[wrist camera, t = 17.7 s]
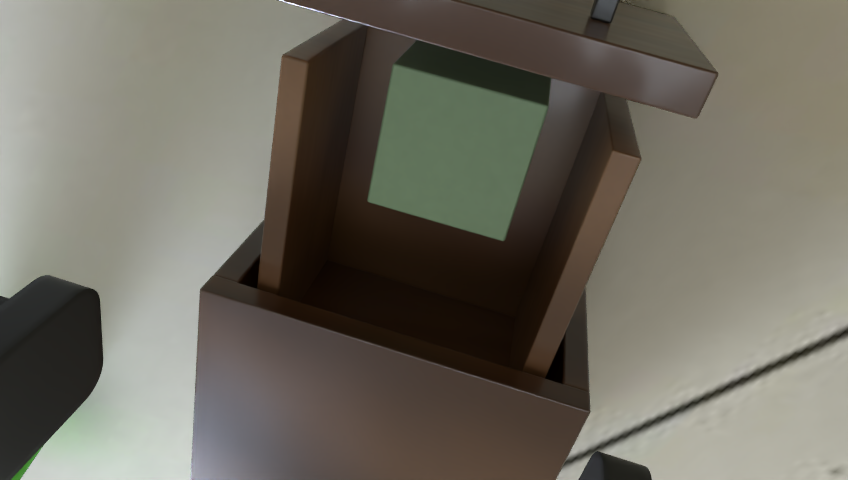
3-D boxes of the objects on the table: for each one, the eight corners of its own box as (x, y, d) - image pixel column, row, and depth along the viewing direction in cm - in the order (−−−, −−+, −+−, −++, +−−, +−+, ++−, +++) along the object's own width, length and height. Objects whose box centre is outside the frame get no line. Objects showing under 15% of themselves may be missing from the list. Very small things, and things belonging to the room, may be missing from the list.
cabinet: (304, 174, 28) (199, 289, 20) (585, 258, 27) (591, 411, 19) (271, 407, 36) (186, 557, 28) (491, 478, 35) (467, 653, 27)
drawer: (372, -246, 20) (277, -309, 13) (745, -151, 19) (834, -168, 13) (300, 250, 29) (224, 352, 23) (546, 325, 28) (539, 453, 22)
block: (424, 31, 22) (392, 63, 18) (553, 66, 22) (548, 106, 18) (398, 151, 24) (366, 202, 21) (515, 184, 24) (504, 242, 20)
